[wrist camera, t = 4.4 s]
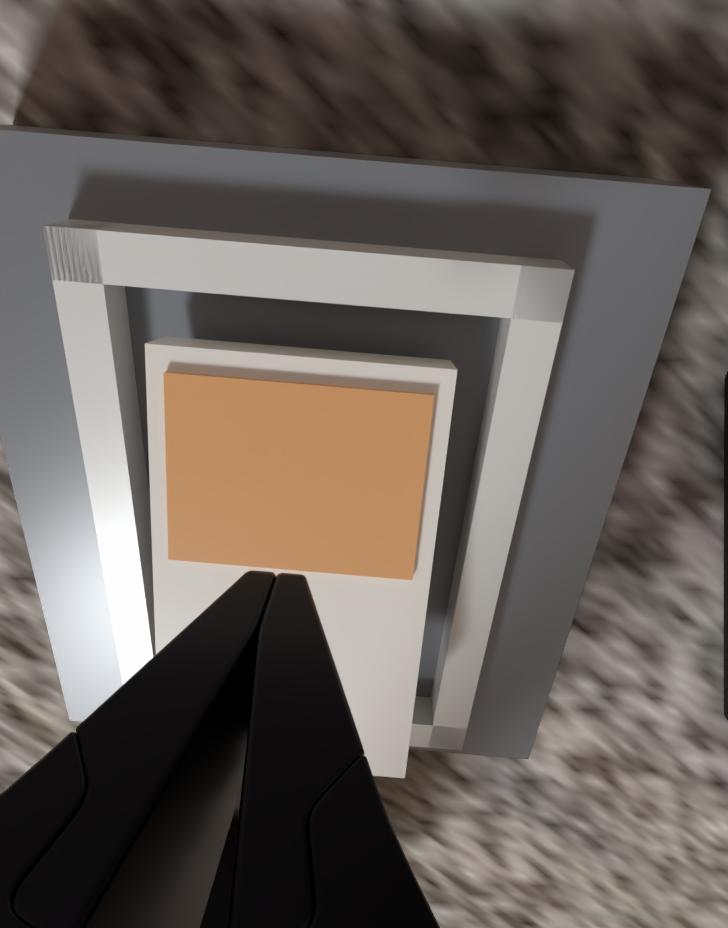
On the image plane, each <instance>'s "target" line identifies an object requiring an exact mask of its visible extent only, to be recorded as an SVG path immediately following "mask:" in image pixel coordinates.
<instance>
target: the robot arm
mask: <svg viewBox="0 0 728 928" xmlns="http://www.w3.org/2000/svg"><path fill="white" fill-rule="evenodd" d="M76 733H77V734H76ZM76 733H75V732H71V733H69V734H68V735H67V736H66V737H65V738H64V739H63V740H62V741H61V742H60V743H58V744H57V745H56V746H55V747H54V748H53V749H52V750H51V751H50V752H49V753H48V754H46V755H45V756H44V757H43V758H42V759H41V760H40V761H38V762H37V763H36V764H35V765H34V766H33V767H32V768H30V769H29V770H28V771H27V772H26V773H25V774H24V775H22V776H21V777H20V778H19V779H18V780H17V781H16V782H14V783H13V784H12V785H11V786H10V787H9V788H8V789H6V790H5V791H4V792H3V793H1V794H0V928H440V927H439V925H438V923H437V921H436V919H435V917H434V915H433V913H432V911H431V909H430V906H429V904H428V902H427V900H426V898H425V896H424V894H423V892H422V890H421V888H420V886H419V884H418V882H417V880H416V878H415V876H414V874H413V872H412V870H411V868H410V866H409V863H408V861H407V859H406V857H405V854H404V852H403V850H402V848H401V846H400V843H399V841H398V839H397V837H396V834H395V832H394V830H393V828H392V826H391V823H390V821H389V818H388V816H387V813H386V810H385V808H384V805H383V802H382V800H381V797H380V794H379V792H378V789H377V786H376V784H375V781H374V778H373V775H372V772H371V769H370V766H369V763H368V760H367V758H366V757H365V756H364V749H363V746H362V743H361V740H360V737H359V734H358V731H357V728H356V725H355V722H354V719H353V716H352V713H351V710H350V707H349V704H348V701H347V698H346V695H345V692H344V689H343V686H342V683H341V680H340V677H339V674H338V671H337V668H336V665H335V662H334V659H333V656H332V653H331V650H330V647H329V644H328V641H327V638H326V635H325V632H324V629H323V626H322V623H321V620H320V617H319V614H318V611H317V608H316V605H315V602H314V599H313V596H312V593H311V591H310V588H309V585H308V582H307V579H306V577H305V576H304V575H302V574H291V573H279V574H278V575H277V576H276V575H275V573H273V572H267V571H255V570H251V571H248V572H246V573H245V574H244V575H242V576H241V577H240V578H239V579H238V580H237V581H236V582H235V583H234V584H233V585H232V586H230V587H229V588H228V589H227V590H226V591H225V592H224V593H223V594H222V595H221V596H220V597H218V598H217V599H216V600H215V601H214V602H213V603H212V604H211V605H210V606H209V607H207V608H206V609H205V610H204V611H203V612H202V613H201V614H200V615H199V616H198V617H197V618H195V619H194V620H193V621H192V622H191V623H190V624H189V625H188V626H187V627H186V628H185V629H183V630H182V631H181V632H180V633H179V634H178V635H177V636H176V637H175V638H174V639H173V640H171V641H170V642H169V643H168V644H167V645H166V646H165V647H164V648H163V649H162V650H160V651H159V652H158V653H157V654H156V655H155V656H154V657H153V658H152V659H151V660H150V661H148V662H147V663H146V664H145V665H144V666H143V667H142V668H141V669H140V670H139V671H138V672H136V673H135V674H134V675H133V676H132V677H131V678H130V679H129V680H128V681H127V682H126V683H124V684H123V685H122V686H121V687H120V688H119V689H118V690H117V691H116V692H115V693H114V694H112V695H111V696H110V697H109V698H108V699H107V700H106V701H105V702H104V703H103V704H101V705H100V706H99V707H98V708H97V709H96V710H95V711H94V712H93V713H92V714H91V715H89V716H88V717H87V718H86V719H85V720H84V721H83V722H82V723H81V724H80V725H79V726H77V728H76ZM241 787H242V791H241V801H240V811H239V821H231V820H232V817H233V814H234V810H235V807H236V804H237V800H238V797H239V793H240V790H241Z"/></svg>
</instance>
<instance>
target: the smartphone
mask: <svg viewBox="0 0 728 928" xmlns="http://www.w3.org/2000/svg"><path fill="white" fill-rule="evenodd" d="M724 715H725V717H726V719H727V720H728V372H727V375H726V378H725V427H724Z"/></svg>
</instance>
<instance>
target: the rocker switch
mask: <svg viewBox="0 0 728 928" xmlns="http://www.w3.org/2000/svg"><path fill="white" fill-rule="evenodd" d="M145 367H146V395H147V423H148V451H149V479H150V508H151V536H152V564H153V592H154V620H155V648H156V654H157V653H158V652H159V651H160V650H162V649H163V648H164V647H165V646H166V645H167V644H168V643H169V642H170V641H171V640H173V639H174V638H175V637H176V636H177V635H178V634H179V633H180V632H181V631H182V630H183V629H185V628H186V627H187V626H188V625H189V624H190V623H191V622H192V621H193V620H194V619H195V618H197V617H198V616H199V615H200V614H201V613H202V612H203V611H204V610H205V609H206V608H207V607H209V606H210V605H211V604H212V603H213V602H214V601H215V600H216V599H217V598H218V597H220V596H221V595H222V594H223V593H224V592H225V591H226V590H227V589H228V588H229V587H230V586H232V585H233V584H234V583H235V582H236V581H237V580H238V579H239V578H240V577H241V576H242V575H244V574H245V573H246V572H248V571H251V570H255V571H267V572H273V573H275V575H276V576H277V575H278V574H279V573H291V574H302V575H304V576H305V577H306V579H307V582H308V585H309V588H310V591H311V593H312V596H313V599H314V602H315V605H316V608H317V611H318V614H319V617H320V620H321V623H322V626H323V629H324V632H325V635H326V638H327V641H328V644H329V647H330V650H331V653H332V656H333V659H334V662H335V665H336V668H337V671H338V674H339V677H340V680H341V683H342V686H343V689H344V692H345V695H346V698H347V701H348V704H349V707H350V710H351V713H352V716H353V719H354V722H355V725H356V728H357V731H358V734H359V737H360V740H361V743H362V746H363V749H364V756H365V757H366V758H367V760H368V763H369V766H370V769H371V772H372V775H373V776H383V777H395V778H405V773H406V766H407V758H408V750H409V742H410V735H411V727H412V719H413V711H414V704H415V696H416V688H417V680H418V673H419V665H420V657H421V649H422V641H423V634H424V626H425V618H426V610H427V603H428V595H429V587H430V579H431V572H432V564H433V556H434V548H435V541H436V533H437V525H438V517H439V510H440V502H441V494H442V486H443V478H444V471H445V463H446V455H447V447H448V440H449V432H450V424H451V416H452V409H453V401H454V393H455V385H456V378H457V368H456V367H455V366H454V364H453V363H452V361H451V360H442V359H430V358H418V357H407V356H395V355H383V354H371V353H359V352H347V351H335V350H323V349H311V348H299V347H287V346H275V345H263V344H252V343H240V342H228V341H216V340H204V339H192V338H180V337H168V336H165V337H162V338H160V339H157V340H154V341H151V342H148V343H145Z"/></svg>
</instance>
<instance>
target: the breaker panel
mask: <svg viewBox="0 0 728 928" xmlns="http://www.w3.org/2000/svg"><path fill="white" fill-rule="evenodd" d="M710 192H711V189H708V188H702V187H697V186H691V185H686V184H680V183H675V182H669V181H664V180H658V179H653V178H642V177H630V176H618V175H606V174H594V173H582V172H570V171H558V170H546V169H534V168H522V167H510V166H498V165H486V164H474V163H462V162H450V161H438V160H426V159H414V158H402V157H390V156H378V155H366V154H354V153H342V152H330V151H318V150H306V149H294V148H282V147H270V146H258V145H246V144H234V143H222V142H210V141H198V140H186V139H175V138H163V137H151V136H139V135H127V134H115V133H103V132H91V131H79V130H67V129H55V128H43V127H31V126H19V125H0V437H1V441H2V445H3V449H4V453H5V457H6V461H7V465H8V469H9V474H10V478H11V482H12V486H13V490H14V494H15V498H16V502H17V506H18V510H19V515H20V519H21V523H22V527H23V531H24V535H25V539H26V543H27V547H28V551H29V555H30V560H31V564H32V568H33V572H34V576H35V580H36V584H37V588H38V592H39V596H40V600H41V605H42V609H43V613H44V617H45V621H46V625H47V629H48V633H49V637H50V641H51V645H52V650H53V654H54V658H55V662H56V666H57V670H58V674H59V678H60V682H61V686H62V690H63V695H64V699H65V703H66V707H67V711H68V715H69V719H70V720H73V721H84V720H85V719H86V718H87V717H88V716H89V715H91V714H92V713H93V712H94V711H95V710H96V709H97V708H98V707H99V706H100V705H101V704H103V703H104V702H105V701H106V700H107V699H108V698H109V697H110V696H111V695H112V694H114V693H115V692H116V691H117V690H118V689H119V688H120V687H121V686H122V685H123V684H124V683H126V682H127V681H128V680H129V679H130V678H131V677H132V676H133V675H134V674H135V673H136V672H138V671H139V670H140V669H141V668H142V667H143V666H144V665H145V664H146V663H147V662H148V661H150V660H151V659H152V658H153V657H154V656H155V655H156V648H155V620H154V592H153V564H152V536H151V508H150V479H149V451H148V423H147V395H146V367H145V343H148V342H151V341H154V340H157V339H160V338H162V337H165V336H168V337H180V338H192V339H204V340H216V341H228V342H240V343H252V344H263V345H275V346H287V347H299V348H311V349H323V350H335V351H347V352H359V353H371V354H383V355H395V356H407V357H418V358H430V359H442V360H451V361H452V363H453V364H454V366H455V367H456V368H457V378H456V385H455V393H454V401H453V409H452V416H451V424H450V432H449V440H448V447H447V455H446V463H445V471H444V478H443V486H442V494H441V502H440V510H439V517H438V525H437V533H436V541H435V548H434V556H433V564H432V572H431V579H430V587H429V595H428V603H427V610H426V618H425V626H424V634H423V641H422V649H421V657H420V665H419V673H418V680H417V688H416V696H415V704H414V711H413V719H412V727H411V735H410V742H409V749H415V750H427V751H439V752H450V753H462V754H474V755H486V756H498V757H509V758H521V759H528V758H529V755H530V752H531V749H532V746H533V743H534V740H535V737H536V734H537V730H538V727H539V724H540V721H541V718H542V715H543V712H544V709H545V706H546V702H547V699H548V696H549V693H550V690H551V687H552V684H553V681H554V678H555V674H556V671H557V668H558V665H559V662H560V659H561V656H562V653H563V650H564V646H565V643H566V640H567V637H568V634H569V631H570V628H571V625H572V622H573V618H574V615H575V612H576V609H577V606H578V603H579V600H580V597H581V594H582V590H583V587H584V584H585V581H586V578H587V575H588V572H589V569H590V566H591V562H592V559H593V556H594V553H595V550H596V547H597V544H598V541H599V538H600V534H601V531H602V528H603V525H604V522H605V519H606V516H607V513H608V510H609V506H610V503H611V500H612V497H613V494H614V491H615V488H616V485H617V482H618V478H619V475H620V472H621V469H622V466H623V463H624V460H625V457H626V454H627V450H628V447H629V444H630V441H631V438H632V435H633V432H634V429H635V426H636V422H637V419H638V416H639V413H640V410H641V407H642V404H643V401H644V398H645V394H646V391H647V388H648V385H649V382H650V379H651V376H652V373H653V370H654V366H655V363H656V360H657V357H658V354H659V351H660V348H661V345H662V342H663V338H664V335H665V332H666V329H667V326H668V323H669V320H670V317H671V314H672V310H673V307H674V304H675V301H676V298H677V295H678V292H679V289H680V286H681V282H682V279H683V276H684V273H685V270H686V267H687V264H688V261H689V258H690V254H691V251H692V248H693V245H694V242H695V239H696V236H697V233H698V230H699V226H700V223H701V220H702V217H703V214H704V211H705V208H706V205H707V202H708V198H709V195H710Z"/></svg>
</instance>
